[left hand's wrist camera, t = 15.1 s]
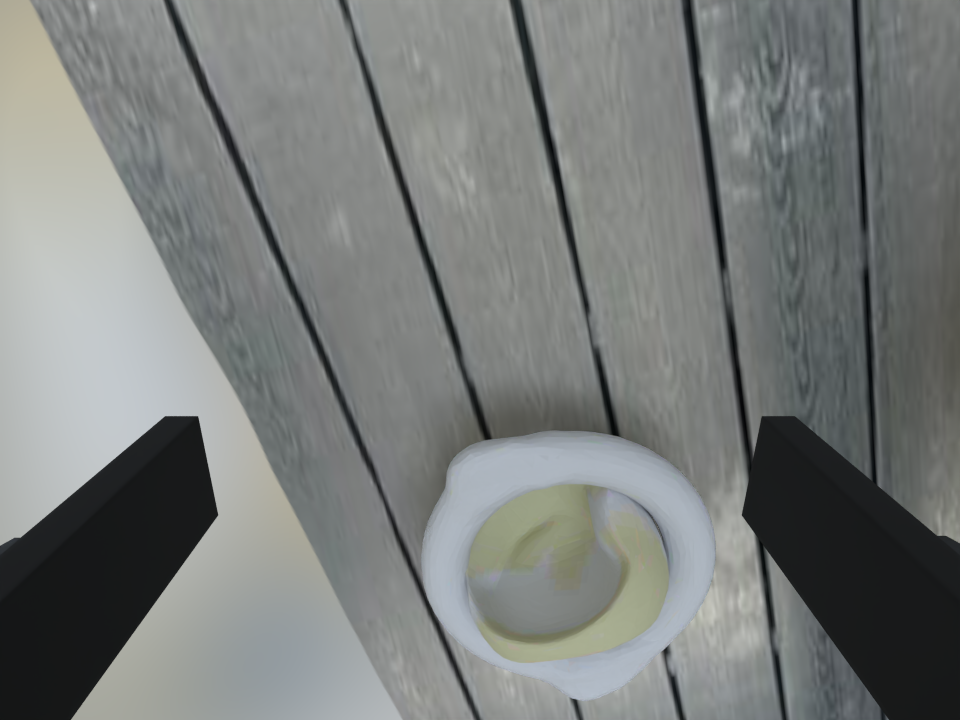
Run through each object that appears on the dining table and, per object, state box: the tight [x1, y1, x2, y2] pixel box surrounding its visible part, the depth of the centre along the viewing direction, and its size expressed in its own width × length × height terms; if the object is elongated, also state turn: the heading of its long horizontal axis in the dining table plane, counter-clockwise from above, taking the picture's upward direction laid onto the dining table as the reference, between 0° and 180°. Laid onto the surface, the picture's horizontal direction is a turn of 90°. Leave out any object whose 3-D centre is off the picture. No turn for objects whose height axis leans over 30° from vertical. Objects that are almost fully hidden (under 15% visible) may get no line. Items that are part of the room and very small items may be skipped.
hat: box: [421, 430, 716, 701], centre depth 41 cm, size 25×22×15 cm
